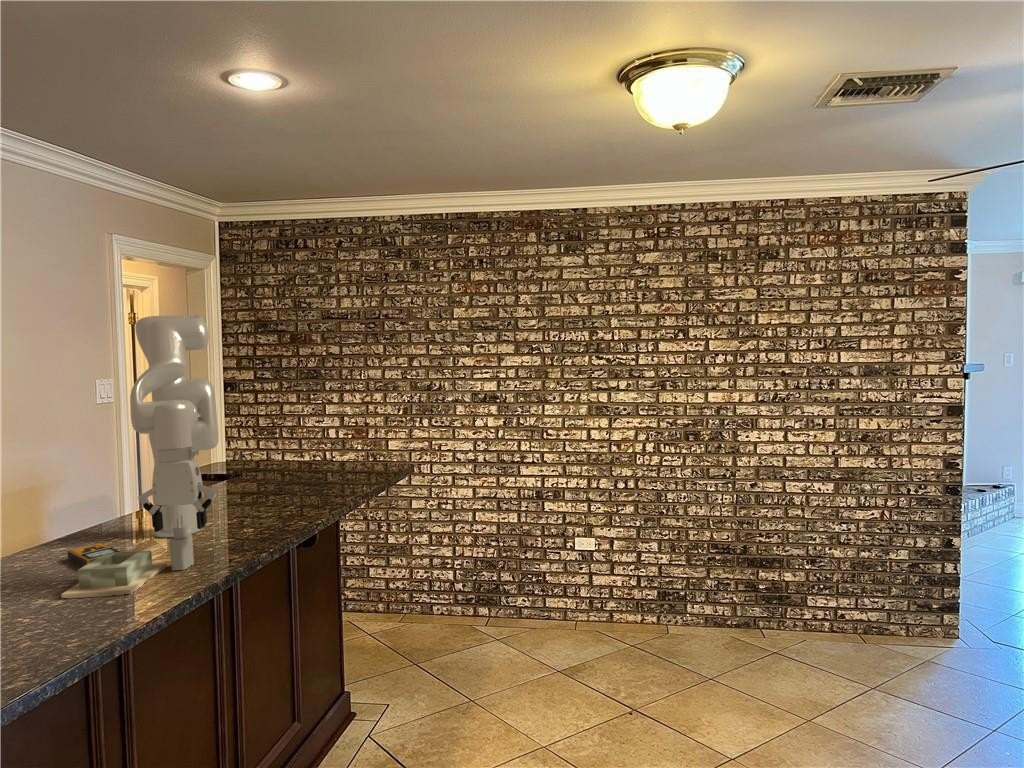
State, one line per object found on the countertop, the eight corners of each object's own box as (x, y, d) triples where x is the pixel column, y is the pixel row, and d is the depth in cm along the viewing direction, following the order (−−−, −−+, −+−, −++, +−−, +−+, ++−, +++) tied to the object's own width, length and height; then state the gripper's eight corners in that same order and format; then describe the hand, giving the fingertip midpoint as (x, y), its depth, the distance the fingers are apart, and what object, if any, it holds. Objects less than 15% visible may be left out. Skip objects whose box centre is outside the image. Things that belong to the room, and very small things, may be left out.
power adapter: (195, 563, 168) (191, 513, 167) (183, 571, 162) (179, 519, 162) (182, 563, 168) (178, 514, 167) (170, 571, 163) (166, 520, 162)
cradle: (105, 570, 165) (104, 549, 165) (167, 566, 166) (165, 545, 166) (61, 598, 147) (59, 575, 147) (131, 594, 148) (129, 571, 148)
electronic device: (102, 554, 181) (102, 541, 181) (128, 564, 171) (127, 550, 171) (65, 562, 175) (64, 549, 174) (89, 573, 164) (88, 559, 164)
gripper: (218, 451, 168) (223, 522, 168) (143, 455, 166) (149, 527, 167) (207, 455, 160) (212, 530, 161) (128, 460, 159) (134, 535, 160)
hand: (180, 529), depth 164 cm, fingers open, 9 cm apart
